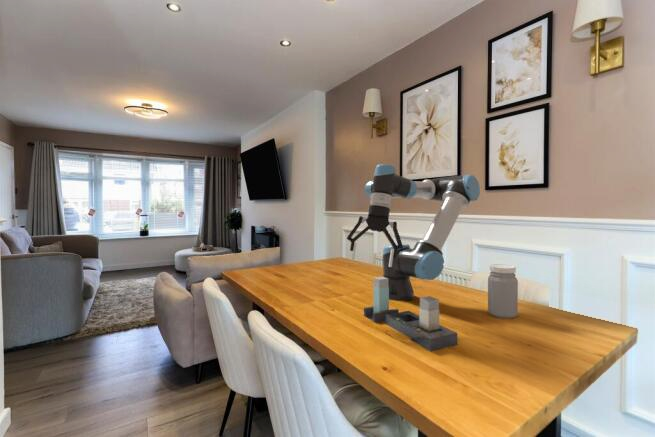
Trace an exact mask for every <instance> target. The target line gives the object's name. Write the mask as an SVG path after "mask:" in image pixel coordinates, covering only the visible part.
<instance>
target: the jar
mask: <svg viewBox="0 0 655 437" xmlns="http://www.w3.org/2000/svg"><path fill="white" fill-rule="evenodd" d="M489 271H490V272H489V275H488V277H487V312H488V313H489V314H490V316H493V317H496V318H499V319H505V320H506V319H514V318H516V317H517V316H518V314H519V312H518V310H519V309H518V308H519V307H518V303H519V302H518V301H519V298H518V296H519V294H518V292H519V281H518V278H517V277H516V274H515V273H516V271H517V269H516V266H515V265H511V264H503V263H493V264H490V265H489Z"/></svg>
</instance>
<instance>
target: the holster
mask: <svg viewBox="0 0 655 437" xmlns="http://www.w3.org/2000/svg"><path fill="white" fill-rule="evenodd" d="M398 312H400V310H399V308H391V309H389V310H385V311H379V312H373V305H372V306H366V307H363V317H365V318H367V320H370V321H372V323H375V324H377V323H382V322H385V315H387V314H393V313H398Z"/></svg>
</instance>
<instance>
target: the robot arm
mask: <svg viewBox="0 0 655 437" xmlns="http://www.w3.org/2000/svg"><path fill="white" fill-rule="evenodd" d="M396 171H397V169H396V167H395V166H394V165H392V164H388V163H380V164H377V165H376V166H375V169H374V174H373V180H371V181H368V182H367V183H366V184H365V186H364V192H365V195H366V196H367V197H368V198H369V199H370V201H369V204H370V205H369V207H368V214H367V217H363V216H359V217H358V221H357V223H356V224H355V226H354V227H353V229H351V231H350V233H349V234H348V235H347V237H346V240H348V241H349V242H350V247H349V250H350V251H351V252H352V256H351V261H353V262H354V260H355V255H356V249H357V242H356V241H358V239H360V238H361V237H362V236H363V235H364V234H365V233H367V232H368V231H369V230H370V231H372V232H378V233H381V232H382V233H383V234H384V235H385V237H386V238H387V241H388V242H389V243H390V245H386V246H384V248H383V249H382V250H383V252H382V272H383V274H382V277H385V278H388V287H389V300H390V301H391V300H393V301H404V302H405V301H411V300H412V299H414V298H415V292H414V288H413V286H412V283H411V277H412V278H416V279H419V280H426V281H433V280H435V279H437V278H439V277H440V275H441V274H442V273H443V270H444V263H445V259H444V254H443V251H442V249H443V247H444V245H445V243H446V241H447V240H448V237H449V235H450V233H451V231H452V229H453V228H454V225H455V224H456V221H457V219H458V218H459V216H460V213H461V212H462V210H464V209H467V208H468V206H469V205H470V202H475V201H477V200H478V199H479V197H480V194H481V188H480V183H479V181H478V179H477V177H476V176H475V175H472V174H463V175H455V176H454V175H453V176H443V177H438V178H433V179H432V178H431V179H424V180H422V181H418V180H417V181H416V180H415V181H413V180H411V179H410V178H407V177H404V176H401V175H398V174H396ZM394 198H395V199H397V198H398V199H400V198H401V199H404V200H405V199H406V200H409V199H413V198H419V199H420V198H421V199H423V200H428V201H439V202H442V204H440V207H439V208H438V210H437V213H435V215H434V218H433V219H432V221H431V222H430V225H429V227H428V229H427V231H426V232H425V234H424V236H423V237H422V240H417V241H416V243H415V244H414V246H413V248H411V246H410V244H403V242H402V239H401V236H400V233H399V230H398V226H397V224H398V223H397V221H390V219H389V218H390V211H391V209H390V207H391V203H392V199H394ZM365 222H366V224H367V226H366V227H365V228H364V229H363V230H361V231H360V232H358V234H357V235H355V233H356V231H357V230H358V229H359V227H360V226H361V224H363V223H365ZM388 226H390V228H392V231H393V234H394V238H395V240H396V242H395V241H394V239H393V238H392V236H391V234H390V233H389V230H388V229H387V228H388ZM353 235H355V236H354V237H353ZM396 243H397V244H396Z"/></svg>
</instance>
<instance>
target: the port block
mask: <svg viewBox="0 0 655 437" xmlns="http://www.w3.org/2000/svg"><path fill="white" fill-rule="evenodd" d="M439 303H440V299H438V298H435V297H434V296H430V295H429V296H424V297H423V296H422V297H420V298H419V307H418V308H419V310H418V311H419V314H417V313H415V312H413V311H410V310H405V311H399V312H398V313H393V314H387V315H385V321H384V324H385V325H387V326H388V327H390V328H392V329H394V330H395V331H397V332H398V333H400V334H401V335H404V336H406V337H408V338H409V340H410V341H411V342H413V343H414V344H417V345H418V346H419V347H422V348H423V349H425V350H427V351H428V352H434V351H438V350H441V349H446V348H450V347H454V346H457V345H458V332H456V331H455V330H452V329H450V328H448V327H445V326H443V325H441V324H440V309H439V308H440V307H439V306H440V304H439Z"/></svg>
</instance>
